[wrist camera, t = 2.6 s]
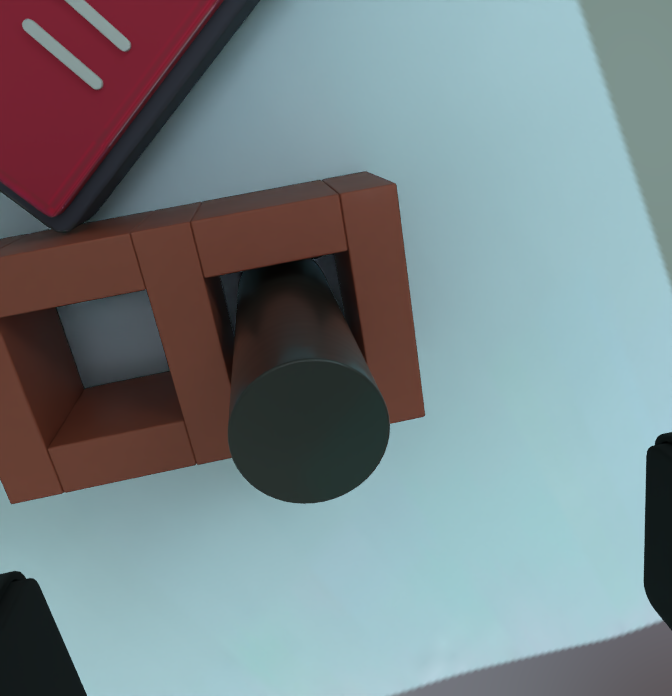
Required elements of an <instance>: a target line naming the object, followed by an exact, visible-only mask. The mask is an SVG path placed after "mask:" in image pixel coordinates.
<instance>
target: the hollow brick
mask: <svg viewBox="0 0 672 696" xmlns="http://www.w3.org/2000/svg"><path fill="white" fill-rule="evenodd" d="M328 254H334V256H335V262H336V268H337V274H338V280H339V286H340V291H341V297H342V303H343V309H344V315H345V320H346V322H347V324H348V326H349V328H350V330H351V332H352V334H353V336H354V338H355V340H356V343H357V345H358V347H359V349H360V351H361V353H362V355H363V357H364V359H365V361H366V363H367V365H368V367H369V369H370V371H371V374H372V376H373V378H374V380H375V382H376V384H377V386H378V388H379V390H380V392H381V394H382V396H383V398H384V401H385V403H386V406H387V409H388V414H389V420H390V424H391V423H396V422H401V421H405V420H410V419H415V418H419V417H424V416H425V410H424V402H423V394H422V386H421V378H420V370H419V362H418V354H417V346H416V338H415V330H414V322H413V314H412V306H411V298H410V290H409V282H408V274H407V266H406V258H405V250H404V242H403V234H402V226H401V218H400V210H399V202H398V194H397V186H396V184H395V183H393V182H391V181H388V180H386V179H383V178H381V177H379V176H376V175H374V174H372V173H369V172H360V173H355V174H349V175H344V176H338V177H333V178H328V179H323V180H322V181H321V180H317V181H311V182H306V183H301V184H295V185H290V186H284V187H279V188H274V189H268V190H263V191H257V192H252V193H247V194H241V195H236V196H230V197H225V198H219V199H214V200H209V201H204V202H197V203H192V204H187V205H181V206H176V207H170V208H165V209H159V210H155V211H149V212H143V213H138V214H133V215H127V216H122V217H116V218H111V219H106V220H100V221H95V222H89V223H84V224H81V225H79V226H78V227H76V228H74V229H73V230H71V231H70V232H67V233H58V232H55V231H54V230H52V229H51V230H46V231H41V232H35V233H31V234H24V235H19V236H14V237H8V238H3V239H0V480H1V482H2V484H3V486H4V489H5V491H6V493H7V496H8V498H9V500H10V503H11V504H15V503H20V502H24V501H29V500H34V499H38V498H43V497H48V496H52V495H57V494H62V493H63V492H71V491H76V490H80V489H85V488H90V487H94V486H99V485H104V484H108V483H113V482H118V481H123V480H127V479H132V478H137V477H141V476H146V475H151V474H156V473H160V472H165V471H170V470H174V469H179V468H184V467H188V466H193V465H196V464H197V465H200V464H204V463H209V462H214V461H218V460H223V459H228V458H232V456H231V453H230V450H229V445H228V419H229V406H230V392H231V378H232V365H233V351H234V333H233V329H232V325H231V321H230V316H229V312H228V308H227V304H226V300H225V296H224V292H223V287H222V283H221V279H220V275H225V274H230V273H235V272H240V271H245V270H251V269H256V268H261V267H266V266H271V265H276V264H282V263H287V262H292V261H297V260H302V259H308V258H313V257H318V256H323V255H328ZM145 289H146V290H147V293H148V297H149V300H150V303H151V307H152V310H153V314H154V317H155V321H156V324H157V328H158V331H159V335H160V338H161V341H162V345H163V348H164V352H165V355H166V359H167V362H168V366H169V369H170V371H169V372H164V373H159V374H154V375H149V376H144V377H139V378H134V379H129V380H124V381H119V382H114V383H109V384H104V385H99V386H94V387H90V388H85V389H84V387H83V385H82V382H81V379H80V376H79V373H78V370H77V367H76V365H75V362H74V359H73V356H72V353H71V350H70V348H69V345H68V342H67V339H66V336H65V333H64V330H63V328H62V325H61V322H60V319H59V316H58V313H57V310H56V308H55V307H59V306H64V305H69V304H75V303H80V302H85V301H90V300H95V299H101V298H106V297H111V296H116V295H121V294H126V293H132V292H137V291H142V290H145Z"/></svg>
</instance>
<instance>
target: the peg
mask: <svg viewBox="0 0 672 696" xmlns="http://www.w3.org/2000/svg"><path fill="white" fill-rule="evenodd" d="M389 433H390V420H389V414H388V409H387V406H386V403H385V401H384V398H383V396H382V394H381V392H380V390H379V388H378V386H377V384H376V382H375V380H374V378H373V376H372V374H371V371H370V369H369V367H368V365H367V363H366V361H365V359H364V357H363V355H362V353H361V351H360V349H359V347H358V345H357V343H356V340H355V338H354V336H353V334H352V332H351V330H350V328H349V326H348V324H347V322H346V320H345V318H344V316H343V314H342V312H341V309H340V307H339V305H338V303H337V301H336V299H335V297H334V295H333V293H332V291H331V289H330V287H329V285H328V283H327V280H326V278H325V276H324V274H323V272H322V271H321V269H320V268H319V266H318V265H317V264H316V263H315V262H314V261H313V260H312V259H311V258H308V259H302V260H297V261H292V262H287V263H282V264H276V265H271V266H266V267H261V268H256V269H251V270H245V271H244V272H243V274H242V276H241V278H240V281H239V286H238V296H237V310H236V324H235V337H234V351H233V365H232V378H231V392H230V406H229V419H228V445H229V450H230V453H231V456H232V459H233V461H234V463H235V465H236V467H237V469H238V470H239V471H240V473H241V474H242V476H243V477H244V478H245V479H246V480H247V481H248V482H249V483H250V484H251V485H253V486H254V487H255V488H256V489H258V490H259V491H261V492H263V493H264V494H266V495H268V496H271V497H273V498H275V499H279V500H282V501H286V502H292V503H304V504H305V503H317V502H323V501H327V500H331V499H334V498H337V497H339V496H342V495H344V494H346V493H348V492H350V491H351V490H353V489H354V488H356V487H357V486H359V485H360V484H361V483H362V482H364V481H365V480H366V479H367V478H368V477H369V476H370V475H371V474H372V472H373V471H374V470H375V469H376V467H377V466H378V464H379V463H380V461H381V459H382V457H383V455H384V453H385V450H386V447H387V444H388V439H389Z"/></svg>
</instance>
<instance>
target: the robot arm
mask: <svg viewBox="0 0 672 696" xmlns="http://www.w3.org/2000/svg"><path fill="white" fill-rule="evenodd" d="M644 588H645V592H646V594H647V597H648V599H649V601H650V603H651V605H652V606H653V608H654V609H655V610H656V612H657V613H658V614H659V615H660V617H661V618H662V619H663V620H664V622H665V623H666V624H667V625H668V626H669V628H670V629H671V630H672V432H670V433H665V434H661V435H660V436H658V437H657V439H656V441H655V446H651V447H650V448H649V449H648V451H647V456H646V502H645V547H644ZM0 696H87V694H86V692H85V690H84V687H83V685H82V683H81V681H80V678H79V676H78V674H77V671H76V669H75V667H74V664H73V662H72V660H71V657H70V655H69V653H68V651H67V648H66V646H65V644H64V641H63V639H62V637H61V634H60V632H59V630H58V628H57V625H56V623H55V621H54V618H53V616H52V614H51V611H50V609H49V607H48V605H47V602H46V600H45V598H44V595H43V593H42V591H41V588H40V586H39V584H38V583H37V581H36V580H35V579H32V578H29V579H26V578H25V576H24V575H23V574H22V573H21V572H18V571H13V572H8V573H3V574H0Z"/></svg>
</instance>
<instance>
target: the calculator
mask: <svg viewBox="0 0 672 696" xmlns="http://www.w3.org/2000/svg"><path fill="white" fill-rule="evenodd" d="M259 1H260V0H0V192H2V193H3V194H4V195H6V196H7V197H9V198H10V199H11V200H13V201H14V202H15V203H17V204H18V205H19V206H21V207H22V208H23V209H25V210H26V211H27V212H29V213H30V214H31V215H33V216H34V217H35V218H37V219H38V220H39V221H41V222H42V223H44V224H45V225H46V226H48V227H49V228H51V229H52V230H54V231H55V232H58V233H67V232H70V231H71V230H73V229H74V228H76V227H78V226H79V225H81V224H82V223H84V222H85V221H87V220H88V219H89V218H91V217H92V216H93V215H94V214H95V213H96V212H97V211H98V210H99V208H100V207H101V206H102V205H103V203H104V202H105V201H106V199H107V198H108V197H109V195H110V194H111V193H112V192H113V190H114V189H115V188H116V186H117V185H118V184H119V182H120V181H121V180H122V179H123V177H124V176H125V175H126V173H127V172H128V171H129V169H130V168H131V167H132V166H133V164H134V163H135V162H136V160H137V159H138V158H139V156H140V155H141V154H142V153H143V151H144V150H145V149H146V147H147V146H148V145H149V143H150V142H151V141H152V140H153V138H154V137H155V136H156V134H157V133H158V132H159V130H160V129H161V128H162V127H163V125H164V124H165V123H166V121H167V120H168V119H169V117H170V116H171V115H172V114H173V112H174V111H175V110H176V108H177V107H178V106H179V105H180V103H181V102H182V101H183V99H184V98H185V97H186V95H187V94H188V93H189V92H190V90H191V89H192V88H193V86H194V85H195V84H196V82H197V81H198V80H199V79H200V77H201V76H202V75H203V73H204V72H205V71H206V69H207V68H208V67H209V66H210V64H211V63H212V62H213V60H214V59H215V58H216V56H217V55H218V54H219V53H220V51H221V50H222V49H223V47H224V46H225V45H226V43H227V42H228V41H229V40H230V38H231V37H232V36H233V34H234V33H235V32H236V30H237V29H238V28H239V27H240V25H241V24H242V23H243V21H244V20H245V19H246V17H247V16H248V15H249V14H250V12H251V11H252V10H253V8H254V7H255V6H256V4H257V3H258V2H259Z"/></svg>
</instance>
